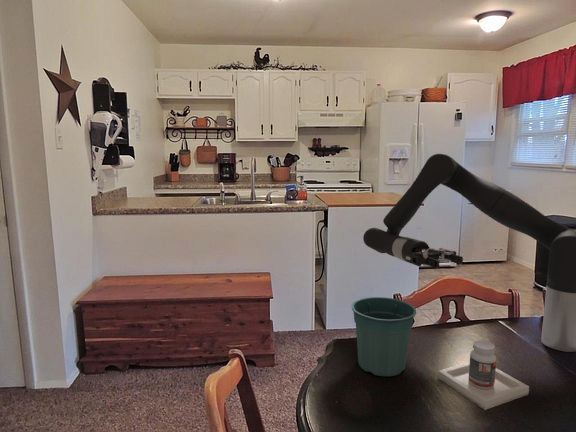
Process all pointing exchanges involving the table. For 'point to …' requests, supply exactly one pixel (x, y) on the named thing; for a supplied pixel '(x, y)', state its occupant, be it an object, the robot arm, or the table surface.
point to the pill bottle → (482, 365)
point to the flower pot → (383, 334)
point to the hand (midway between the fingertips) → (450, 262)
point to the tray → (485, 398)
